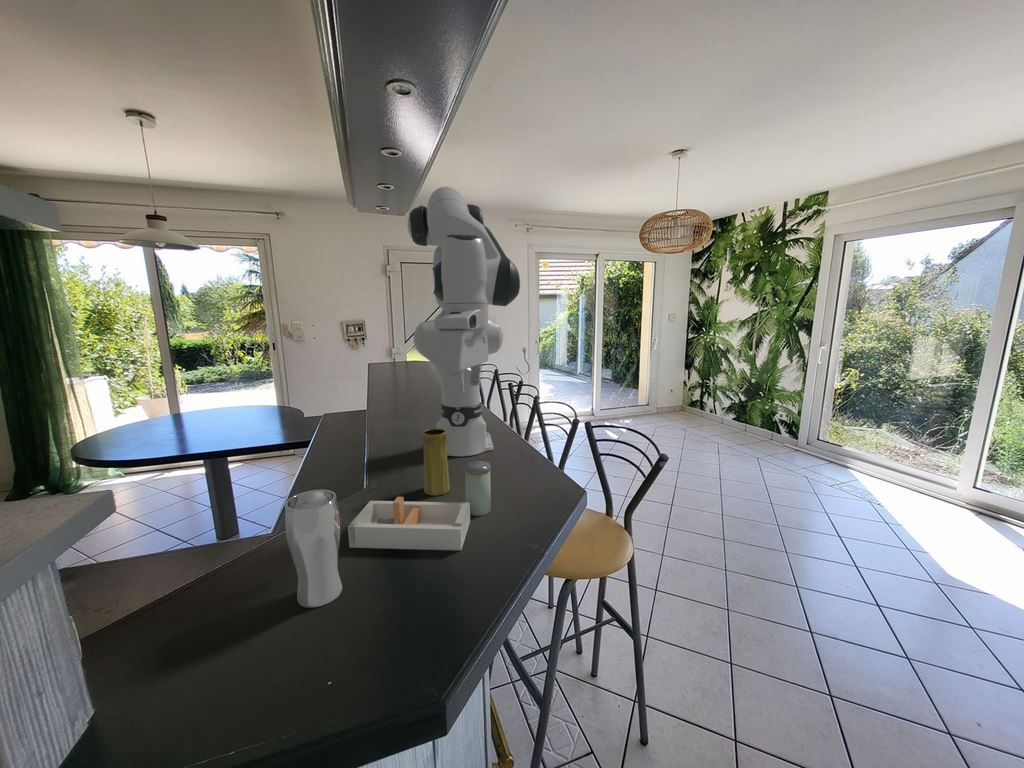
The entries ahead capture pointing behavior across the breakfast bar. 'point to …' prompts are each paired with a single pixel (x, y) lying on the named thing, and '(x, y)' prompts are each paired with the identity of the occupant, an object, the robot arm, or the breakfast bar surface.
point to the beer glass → (314, 545)
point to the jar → (478, 487)
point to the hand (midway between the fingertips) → (467, 389)
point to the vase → (435, 462)
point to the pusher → (401, 514)
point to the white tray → (411, 526)
